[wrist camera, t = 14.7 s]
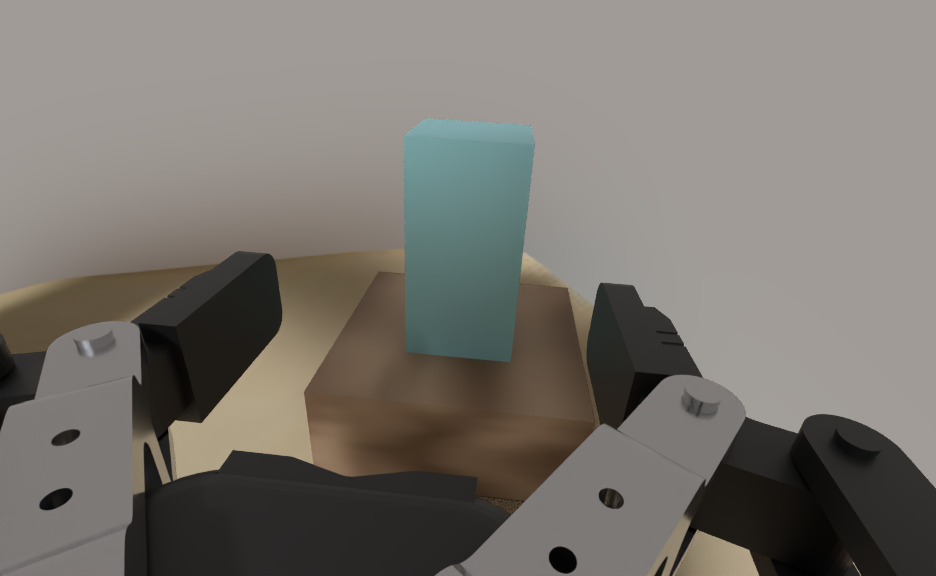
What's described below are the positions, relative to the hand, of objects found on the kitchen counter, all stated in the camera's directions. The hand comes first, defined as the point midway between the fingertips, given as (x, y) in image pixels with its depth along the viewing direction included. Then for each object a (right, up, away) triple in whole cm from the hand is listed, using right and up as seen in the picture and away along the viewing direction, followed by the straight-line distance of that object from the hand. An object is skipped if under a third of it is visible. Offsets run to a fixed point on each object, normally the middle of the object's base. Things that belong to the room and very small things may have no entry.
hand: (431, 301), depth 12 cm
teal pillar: (+1, -2, +13) cm, 13 cm away
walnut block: (0, -6, +15) cm, 17 cm away
